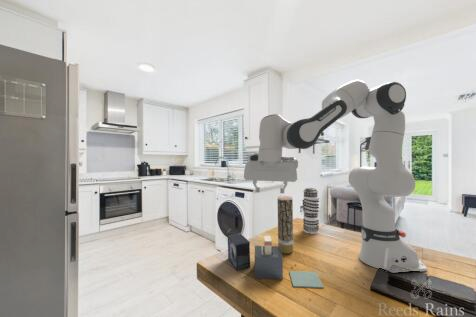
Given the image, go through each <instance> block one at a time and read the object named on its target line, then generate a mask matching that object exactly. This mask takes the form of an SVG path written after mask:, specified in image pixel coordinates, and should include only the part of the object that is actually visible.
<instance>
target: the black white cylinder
mask: <svg viewBox="0 0 476 317" xmlns="http://www.w3.org/2000/svg"><path fill="white" fill-rule="evenodd" d="M318 192H319V191H318V190H317V189H316V188H315V187H305V189H304V190H303V199H302V205H303V206H302V210H303V219H302V220H303V225H302V228H303V232H304V233H306V234H309V233H310V234H312V235H317V234H319V227H320V225H319V224H320V223H319V221H320V220H319V216H318V215H319V214H318V213H319V212H320V211H319V210H318V209H320V207H319V205H320V204H319V203H320V198H319V197H318V196H319V195H318Z"/></svg>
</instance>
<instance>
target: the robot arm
mask: <svg viewBox="0 0 476 317" xmlns="http://www.w3.org/2000/svg"><path fill="white" fill-rule="evenodd" d="M406 100H407V91H406V88H405V87H404V85H402V84H401V82H396V81H391V82H390V81H389V82H385V83H383V84H381V85H379V86H376V87H373V88H371V89H369V86H368V85H367V83H366V82H364V81H363V80H360V79H355V80H351V81H349V82H346V83H345V84H343V85H341V86H339V87H337V88H336V89H335V90H333V91H332V92H330V93H329V94H328V95H327V96H326V97H325V98H324V99H323V100H322V101H321V109H320V110H319V111H318V112H316V113H315V114H314V115H312V116H311V117H308V118H303V119H298V120H297V121H295V122H290V121H288V120H286V119H284V117H282V116H281V115H280V114H277V113H276V114H275V113H274V114H268V115H267V116H263V118H262V119H261V120H260V123H259V130H258V133H259V134H258V139H259V148H258V152H256V153H253V154H250V155H248V156H247V157H246V158H247V159H246V160H247V162H245V165H244V170H243V179H244V180H245V181H252V184H253V187H254V188H255V193H260V192H261V191H260V189H261V187H260V186H258V185H257V183H258V181H261V182H283V186H282V187H280V188H279V189H280V190H279V193H280V194H285V189H286V187H287V186H288V183H289V182H291V183H295V182H297V181H298V173H297V169H298V167H299V161H298V159H297V158H295V157H292V156H290V157H288V156H287V157H286V156H283V148H285V149H288V150H294V149H299V150H300V149H301V150H305V149H306V150H307V149H310V148H312V146H314V145H315V143H317V141H318V140H319V137H320V136H321V134H322V133H323V132H324V131H325V130H326V129H328V128H329V127H330V126H332V124H334V123H335V122H337V121H338V120H340V119H342V118H343V117H346V116H347V115H349V114H350V113H352V115H353V116H354V117H356V118H358V119H368V118H371V117H373V120H374V124H373V128H372V131H371V135H370V141H369V144H368V153H369V155H371V157H373V158H375V163H376V166H359V167H355V168H352V170H350V171H349V174H348V178H347V179H348V182H349V185H350V186H351V187H352V188H353V189H354V190H355V192H356V194H357V196H358V199H359V201H360V205H361V208H362V210H361V211H362V212H361V213H362V224H361V231H360V233H361V247H360V251H359V253H358V259H359V260H360V261H361V262H362V263H364V264H366V265H368V266H370V267H372V268H375V269H379V268H382V269H387V270H388V269H389V268H390V267H391V266H392V265H396V266H401V267H404V268H408V269H411V270H415V271H420V272H427V270H428V268H427V266H426V264H424V263H423V262H422V261H421V260H420V259H419V256H418V253H417V251H416V249H414V247H412V246H410V245H409V244H408V243H407V242H406V241H404V240H403V239H402V238H406V237H407V233H406V232H404V231H403V230H399V229H396V218H395V217H396V212H395V209H394V208H393V206H392V205H390V204H389V203H388V202H387V201H386V199H385V197H384V196H387V197H390V198H391V197H395V198H396V197H397V198H399V197H404V198H405V197H409V196H410V195H411V194H412V193H413V192H414V190H415V188H416V178H415V177H414V175H413V174H412V173H411V172H410V171H409V170H408V169H407V168H406V167H405V165H404V163H403V159H402V150H403V144H404V138H405V133H406V132H405V130H406V115H405V113H404V112H403V111H402V110H403V109H404V107H405V102H406ZM401 237H402V238H401ZM382 269H381V270H382Z"/></svg>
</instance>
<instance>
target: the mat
mask: <svg viewBox="0 0 476 317" xmlns="http://www.w3.org/2000/svg"><path fill="white" fill-rule="evenodd" d="M288 272H289V273H288V274H289V275H290V280H291V284H292V287H293V288H311V289H312V288H315V289H324V285H323V282H322V281H321V279H320V277H319V275H318V272H317V271H305V270H304V271H302V270H299V271H298V270H297V271H296V270H289V271H288Z"/></svg>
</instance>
